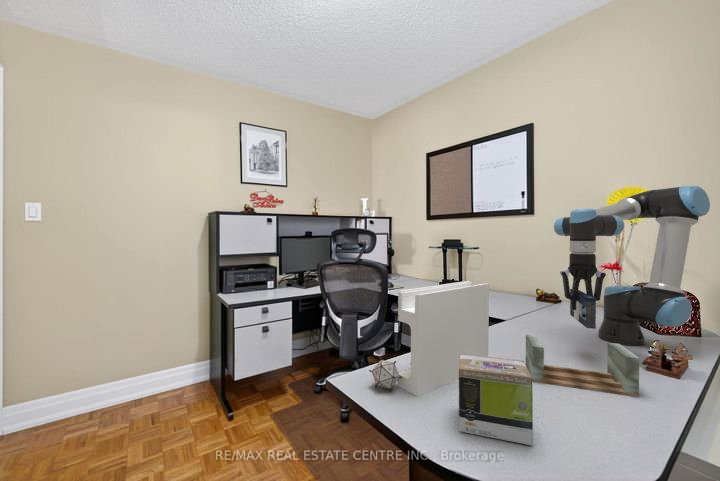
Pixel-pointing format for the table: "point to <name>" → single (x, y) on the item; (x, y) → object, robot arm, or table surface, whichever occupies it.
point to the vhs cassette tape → (585, 309)
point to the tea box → (495, 398)
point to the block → (442, 331)
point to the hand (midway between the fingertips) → (581, 319)
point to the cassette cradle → (616, 380)
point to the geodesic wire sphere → (385, 374)
